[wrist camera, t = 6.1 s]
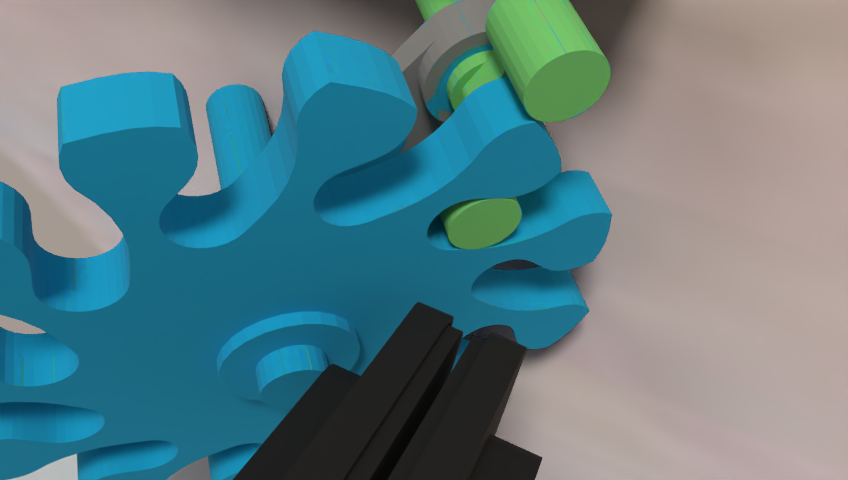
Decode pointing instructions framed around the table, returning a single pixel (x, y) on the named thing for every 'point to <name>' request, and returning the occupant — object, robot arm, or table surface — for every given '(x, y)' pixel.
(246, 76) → the table surface
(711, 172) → the table surface
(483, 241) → the gear
